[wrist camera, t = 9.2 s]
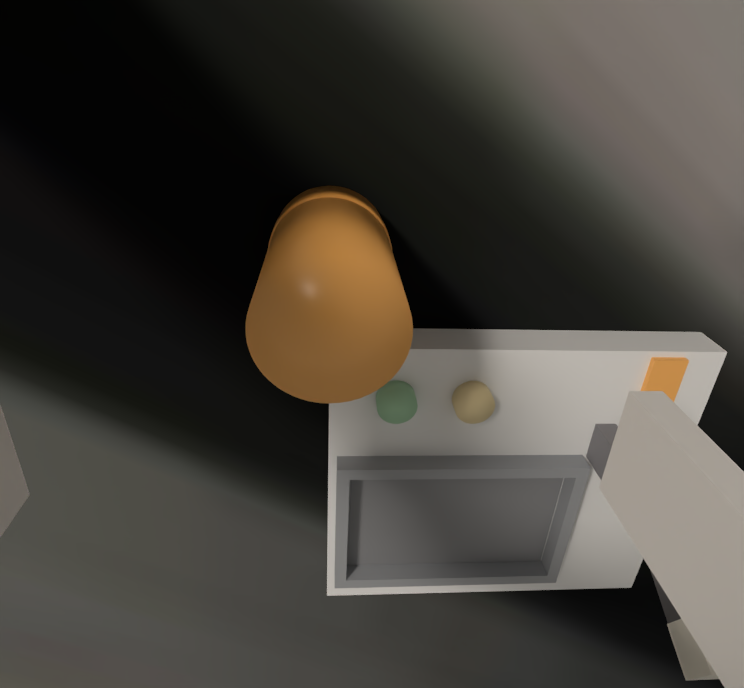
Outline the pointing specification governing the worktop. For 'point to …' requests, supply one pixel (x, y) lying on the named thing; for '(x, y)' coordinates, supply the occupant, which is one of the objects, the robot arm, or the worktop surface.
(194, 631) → the worktop surface
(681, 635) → the breaker lever
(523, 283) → the worktop surface
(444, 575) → the panel
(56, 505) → the worktop surface
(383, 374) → the cap
